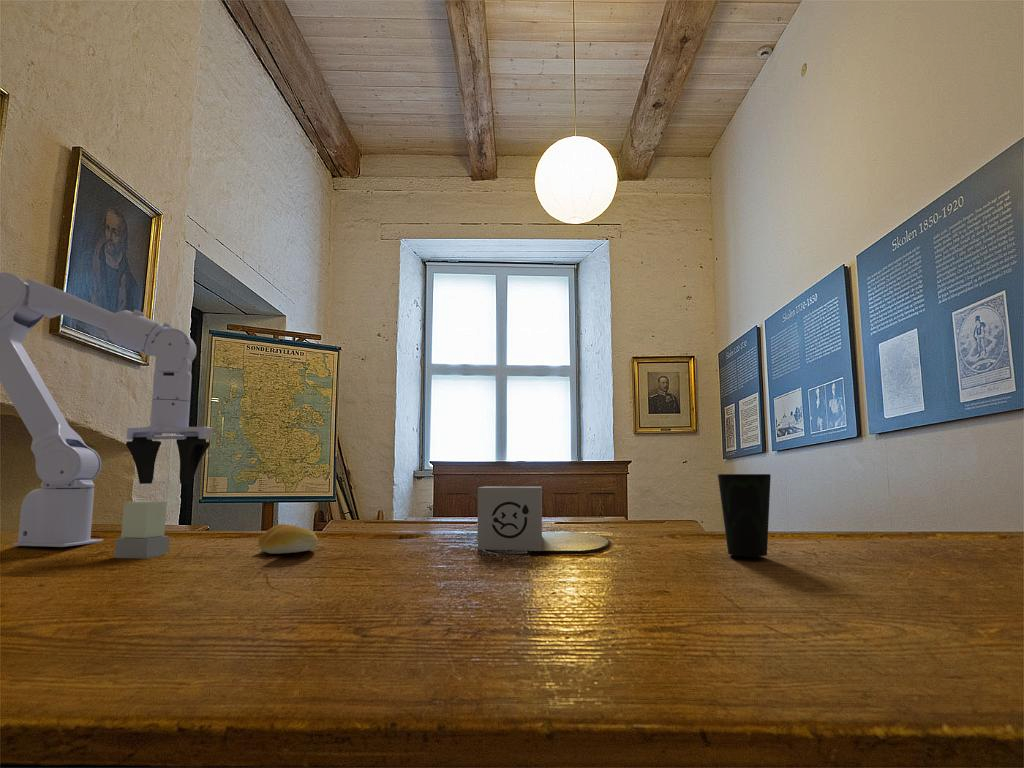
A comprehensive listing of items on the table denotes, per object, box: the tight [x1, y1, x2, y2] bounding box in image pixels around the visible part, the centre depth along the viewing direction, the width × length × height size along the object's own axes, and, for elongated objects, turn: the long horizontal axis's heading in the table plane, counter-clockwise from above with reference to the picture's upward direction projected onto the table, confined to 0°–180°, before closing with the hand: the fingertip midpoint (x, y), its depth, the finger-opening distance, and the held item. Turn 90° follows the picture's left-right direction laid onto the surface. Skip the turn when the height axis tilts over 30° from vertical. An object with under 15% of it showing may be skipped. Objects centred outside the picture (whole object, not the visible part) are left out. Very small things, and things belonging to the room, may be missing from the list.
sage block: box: [120, 500, 168, 538], centre depth 101 cm, size 4×4×5 cm
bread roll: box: [257, 523, 319, 555], centre depth 103 cm, size 8×9×4 cm
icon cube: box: [477, 485, 543, 552], centre depth 112 cm, size 10×10×10 cm
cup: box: [717, 473, 772, 557], centre depth 104 cm, size 8×8×12 cm
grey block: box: [114, 535, 170, 560], centre depth 101 cm, size 5×5×3 cm
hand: (165, 483), depth 111 cm, fingers open, 7 cm apart
